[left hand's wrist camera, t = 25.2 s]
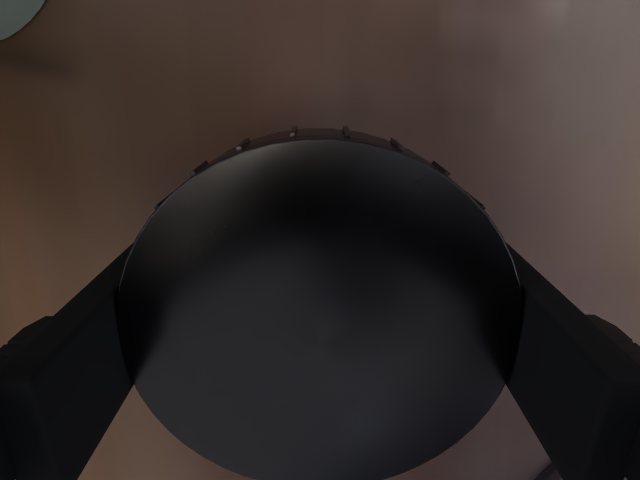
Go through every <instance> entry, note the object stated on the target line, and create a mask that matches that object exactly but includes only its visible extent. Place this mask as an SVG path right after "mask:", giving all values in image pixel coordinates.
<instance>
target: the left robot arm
mask: <svg viewBox="0 0 640 480" xmlns="http://www.w3.org/2000/svg"><path fill="white" fill-rule="evenodd" d="M505 243H506V242H505ZM133 244H134V243H133ZM133 244H132V245H130V246H129V247H128V248H127V249H126V250H125V251H124V252H123V253H122V254H121V255H120V256H118V257H117V258H116V259H115V260H114V261H113V262H112V263H111V264H110V265H109V266H108V267H106V268H105V269H104V270H103V271H102V272H101V273H100V274H99V275H98V276H97V277H95V278H94V279H93V280H92V281H91V282H90V283H89V284H88V285H87V286H86V287H85V288H83V289H82V290H81V291H80V292H79V293H78V294H77V295H76V296H75V297H74V298H73V299H71V300H70V301H69V302H68V303H67V304H66V305H65V306H64V307H63V308H62V309H61V310H59V311H58V312H57V313H56V314H55V315H54V316H45V317H43V318H42V319H40V320H38V321H36V322H34V323H32V324H30V325H28V326H26V327H25V328H23V329H22V330H21V331H20V332H18V333H17V334H16V335H15V336H14V337H13V338H11V339H10V340H9V341H8V344H5V345H3V346H2V347H1V348H0V480H14V479H16V480H77V479H78V477H79V476H80V474H81V472H82V471H83V469H84V467H85V466H86V464H87V462H88V461H89V459H90V457H91V455H92V454H93V452H94V450H95V449H96V447H97V445H98V444H99V442H100V440H101V439H102V437H103V435H104V434H105V432H106V430H107V429H108V427H109V425H110V424H111V422H112V420H113V419H114V417H115V415H116V413H117V412H118V410H119V408H120V407H121V405H122V403H123V402H124V400H125V398H126V397H127V395H128V393H129V392H130V390H131V388H132V387H133V385H134V383H133V381H132V379H131V377H130V375H129V372H128V369H127V366H126V363H125V361H124V358H123V355H122V350H121V345H120V339H119V334H118V326H117V301H118V292H119V284H120V280H121V277H122V273H123V269H124V266H125V262H126V259H127V257H128V255H129V253H130V251H131V248H132V246H133ZM506 245H507V247H508V249H509V251H510V254H511V256H512V258H513V261H514V264H515V268H516V271H517V275H518V278H519V282H520V288H521V297H522V305H523V313H522V331H521V337H520V342H519V347H518V352H517V356H516V359H515V362H514V365H513V368H512V371H511V373H510V376H509V377H508V379H507V381H506V383H505V384H506V385H507V387H508V389H509V390H510V392H511V394H512V395H513V397H514V399H515V401H516V402H517V404H518V406H519V407H520V409H521V411H522V412H523V414H524V416H525V417H526V419H527V421H528V422H529V424H530V426H531V427H532V429H533V431H534V432H535V434H536V436H537V437H538V439H539V441H540V443H541V444H542V446H543V448H544V449H545V451H546V453H547V454H548V456H549V458H550V459H551V461H552V464H551V465H550V466H549V467H548V468H546V469H545V470H544V471H543V472H542V473H541V474H540V475H539V476H538V477H537V478H536V479H535V480H640V346H639V345H638V344H636V343H633V342H632V339H631V338H629V337H628V336H627V335H626V334H625V333H624V332H622V331H621V330H620V329H619V328H618V327H617V326H615V325H613V324H611V323H609V322H607V321H605V320H603V319H601V318H600V317H598V316H596V315H585V314H583V313H582V312H581V311H580V310H579V309H578V308H577V307H576V306H575V305H574V304H573V303H571V302H570V301H569V300H568V299H567V298H566V297H565V296H564V295H563V294H562V293H561V292H559V291H558V290H557V289H556V288H555V287H554V286H553V285H552V284H551V283H550V282H549V281H547V280H546V279H545V278H544V277H543V276H542V275H541V274H540V273H539V272H538V271H537V270H535V269H534V268H533V267H532V266H531V265H530V264H529V263H528V262H527V261H526V260H525V259H523V258H522V257H521V256H520V255H519V254H518V253H517V252H516V251H515V250H514V249H513V248H511V247H510V246H509V245H508V244H507V243H506Z"/></svg>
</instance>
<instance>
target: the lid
mask: <svg viewBox="0 0 640 480" xmlns="http://www.w3.org/2000/svg"><path fill="white" fill-rule="evenodd" d="M190 174H191V176H192V177H191V178H190V179H188V180H187V181H186V182H185V183H184V184H182V185H181V186H180V187H179V188H178V189H176V190H175V191H174V192H172V193H171V194H170V195H168V196H167V197H166V198H165V199H163V200H162V201H161V202H160V203H159V204H157V205H156V206H155V208H154V209H156V211H155V212H154V213H153V214H152V215H151V216H150V218H149V219H148V221H147V222H146V224H145V225H144V227H143V228H142V230H141V231H140V233H139V235H138V236H137V238H136V240H135V242H134V244H133V246H132V248H131V251H130V253H129V255H128V257H127V259H126V262H125V266H124V269H123V273H122V277H121V280H120V284H119V292H118V301H117V326H118V334H119V339H120V345H121V350H122V355H123V358H124V361H125V363H126V366H127V369H128V372H129V375H130V377H131V379H132V381H133V383H134V384H135V386H136V388H137V390H138V392H139V394H140V396H141V397H142V399H143V400H144V401H145V403H146V404H147V406H148V407H149V409H150V410H151V411H152V413H153V414H154V415H155V416H156V417H157V418H158V419H159V421H160V422H161V423H162V424H163V425H164V426H165V427H166V428H167V429H168V430H169V431H170V432H171V433H172V434H173V435H175V436H176V437H177V438H178V439H179V440H180V441H182V442H183V443H184V444H185V445H187V446H188V447H189V448H191V449H192V450H194V451H195V452H197V453H198V454H200V455H201V456H203V457H204V458H206V459H208V460H210V461H212V462H214V463H216V464H218V465H219V466H221V467H223V468H226V469H228V470H231V471H233V472H236V473H238V474H241V475H243V476H246V477H250V478H253V479H256V480H383V479H386V478H390V477H393V476H396V475H399V474H401V473H404V472H406V471H409V470H411V469H413V468H416V467H418V466H420V465H422V464H424V463H426V462H427V461H429V460H431V459H433V458H435V457H437V456H438V455H440V454H441V453H443V452H444V451H445V450H447V449H448V448H450V447H451V446H453V445H454V444H456V443H457V442H458V441H459V440H460V439H461V438H463V437H464V436H465V435H466V434H467V433H468V432H469V431H470V430H472V429H473V428H474V427H475V425H476V424H477V423H478V422H479V421H480V420H481V419H482V418H483V417H484V415H485V414H486V413H487V412H488V411H489V409H490V408H491V406H492V405H493V403H494V402H495V401H496V399H497V398H498V396H499V395H500V393H501V391H502V389H503V387H504V385H505V383H506V381H507V379H508V377H509V376H510V373H511V371H512V368H513V365H514V362H515V359H516V356H517V352H518V347H519V342H520V337H521V331H522V313H523V305H522V297H521V288H520V282H519V278H518V275H517V271H516V268H515V264H514V261H513V258H512V256H511V254H510V251H509V249H508V247H507V245H506V243H505V241H504V238H503V236H502V235H501V233H500V232H499V230H498V229H497V227H496V226H495V224H494V223H493V221H492V220H491V218H490V217H489V215H488V214H487V213H486V212H485V211H484V210H485V209H486V208H485V207H484V206H483V205H482V204H481V203H480V202H478V201H477V200H476V199H475V198H474V197H472V196H471V195H470V194H469V193H467V192H466V191H465V190H463V189H462V188H461V187H460V186H458V185H457V184H456V183H455V182H453V181H452V180H451V179H450V178H449V177H448V176H449V175H450V173H449V172H448V171H447V170H445V169H444V168H443V167H441V166H440V165H439V164H437V163H436V162H435V161H433V162H432V163H430V162H429V161H427V160H425V159H424V158H422V157H420V156H419V155H417V154H415V153H414V152H412V151H410V150H409V149H407V148H404V147H403V146H402V145H401V144H400V143H399V142H397V141H396V140H395V139H393V138H391V140H390V141H388V140H386V139H383V138H379V137H376V136H372V135H368V134H364V133H361V132H355V131H349V129H348V127H346V126H343V129H342V130H340V129H332V128H327V129H299V130H298V129H297V126H294V127H292V129H291V131H285V132H278V133H275V134H271V135H268V136H264V137H261V138H257V139H254V140H251V141H250V140H249V138H247V139H245V140H243V141H242V142H241V143H240V144H239V145H238V146H237V147H235V148H233V149H231V150H229V151H227V152H226V153H224V154H222V155H221V156H219V157H218V158H216V159H214V160H213V161H211V162H209V163H208V162H207V161H205V162H203V163H202V164H201V165H199V166H198V167H197V168H196V169H194V170H193V171H192V172H190Z"/></svg>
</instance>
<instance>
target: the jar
mask: <svg viewBox="0 0 640 480" xmlns="http://www.w3.org/2000/svg"><path fill="white" fill-rule="evenodd" d="M44 1H45V0H0V41H1V40H3V39H6V38H8V37H9V36H11V35H13V34H14V33H16V32H17V31H19V30H20V29H21V28H23V27H24V26H25V25H26V24H27V23H28V22H29V21H30V20H32V18H33V17H34V16H35V15H36V13H37V12H38V11H39V10H40V8H41V7H42V5H43V3H44Z"/></svg>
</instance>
